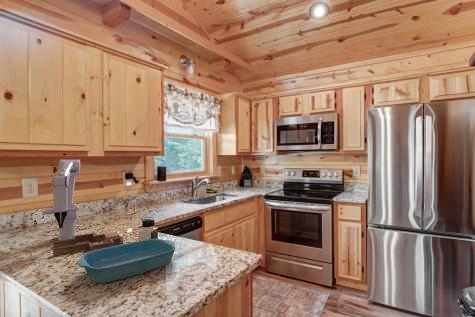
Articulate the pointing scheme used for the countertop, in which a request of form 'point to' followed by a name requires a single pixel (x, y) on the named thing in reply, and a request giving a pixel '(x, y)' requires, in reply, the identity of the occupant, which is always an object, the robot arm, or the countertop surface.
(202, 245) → the countertop surface
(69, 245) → the trap lane
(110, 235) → the block
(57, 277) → the countertop surface
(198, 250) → the countertop surface
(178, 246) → the countertop surface
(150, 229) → the medicine bottle
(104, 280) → the casserole dish
